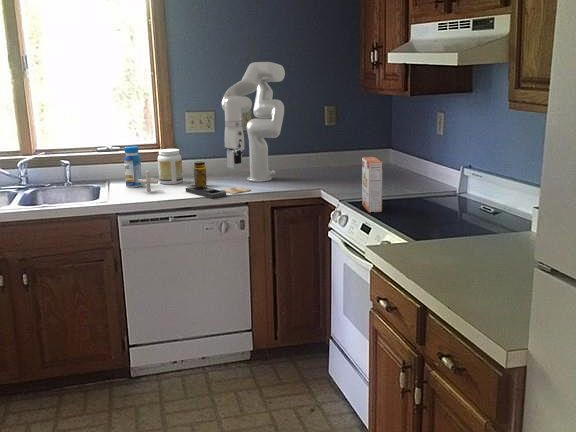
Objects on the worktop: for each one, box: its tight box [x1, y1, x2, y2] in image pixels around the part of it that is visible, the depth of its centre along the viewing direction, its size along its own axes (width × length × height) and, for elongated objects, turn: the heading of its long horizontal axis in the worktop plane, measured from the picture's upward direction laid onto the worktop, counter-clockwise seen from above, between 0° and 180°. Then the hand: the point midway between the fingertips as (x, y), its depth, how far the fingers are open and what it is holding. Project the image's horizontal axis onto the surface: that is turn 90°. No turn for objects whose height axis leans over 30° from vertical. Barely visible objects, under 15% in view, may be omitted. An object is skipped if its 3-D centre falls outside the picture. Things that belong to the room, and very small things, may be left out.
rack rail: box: [185, 186, 227, 199], centre depth 308 cm, size 8×22×2 cm, turn 42°
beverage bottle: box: [123, 145, 143, 188], centre depth 328 cm, size 8×8×20 cm
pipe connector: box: [138, 170, 159, 193], centre depth 315 cm, size 10×10×10 cm
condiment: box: [188, 161, 210, 187], centre depth 327 cm, size 7×8×12 cm
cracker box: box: [361, 156, 383, 214], centre depth 270 cm, size 14×6×21 cm, turn 5°
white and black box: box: [226, 149, 243, 169], centre depth 310 cm, size 5×5×8 cm
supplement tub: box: [157, 148, 184, 185], centre depth 336 cm, size 12×12×17 cm
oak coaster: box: [220, 186, 252, 195], centre depth 314 cm, size 10×10×1 cm
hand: (234, 162), depth 310 cm, fingers closed on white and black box, 5 cm apart
